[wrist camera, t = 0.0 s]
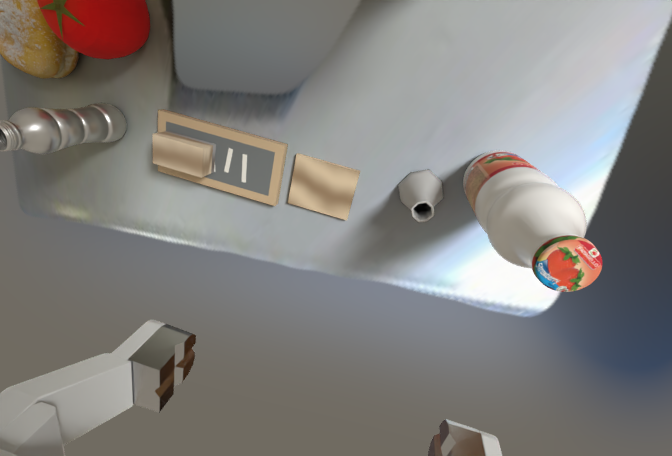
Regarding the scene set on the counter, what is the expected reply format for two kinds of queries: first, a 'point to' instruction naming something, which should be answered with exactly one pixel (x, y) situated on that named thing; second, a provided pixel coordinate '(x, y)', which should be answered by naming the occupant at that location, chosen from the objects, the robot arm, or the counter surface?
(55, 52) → the bread
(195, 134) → the chalkboard
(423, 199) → the flask
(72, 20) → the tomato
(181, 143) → the block
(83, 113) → the plastic bottle
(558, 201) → the fruit juice
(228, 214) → the counter surface
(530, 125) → the counter surface
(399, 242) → the counter surface
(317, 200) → the pad
